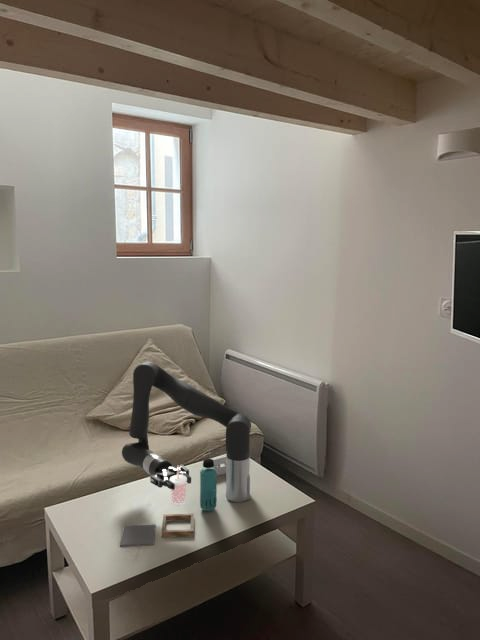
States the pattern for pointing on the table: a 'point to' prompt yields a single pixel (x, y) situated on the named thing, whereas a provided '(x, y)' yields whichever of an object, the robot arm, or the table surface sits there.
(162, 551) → the table surface
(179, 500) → the beverage cup
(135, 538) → the rubber mat
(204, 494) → the beverage bottle
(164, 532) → the walnut holder
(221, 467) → the cassette
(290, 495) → the table surface
